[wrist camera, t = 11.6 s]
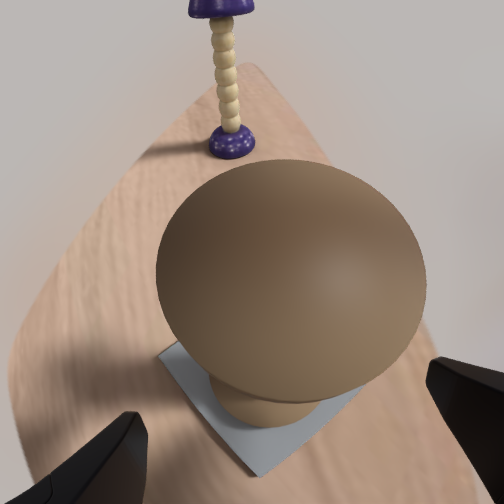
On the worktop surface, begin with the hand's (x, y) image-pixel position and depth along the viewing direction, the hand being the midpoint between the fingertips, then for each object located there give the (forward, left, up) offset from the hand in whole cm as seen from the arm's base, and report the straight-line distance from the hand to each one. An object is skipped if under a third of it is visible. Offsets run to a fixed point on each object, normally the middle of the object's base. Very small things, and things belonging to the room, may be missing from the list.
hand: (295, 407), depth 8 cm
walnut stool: (+2, -1, -8) cm, 8 cm away
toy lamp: (+19, -12, -9) cm, 24 cm away
